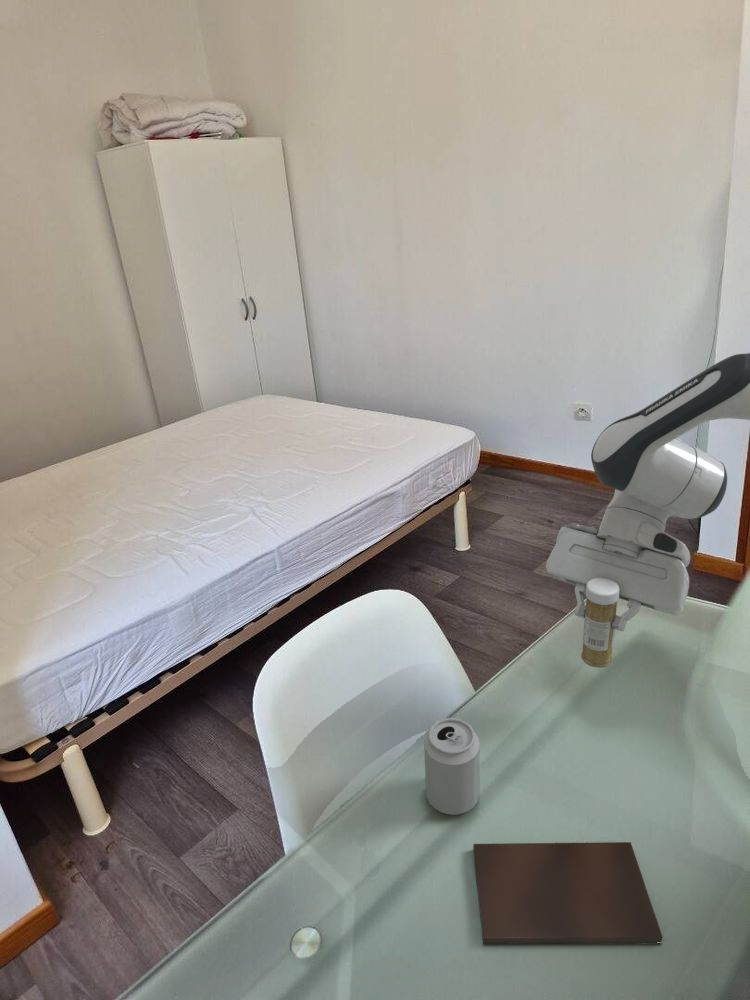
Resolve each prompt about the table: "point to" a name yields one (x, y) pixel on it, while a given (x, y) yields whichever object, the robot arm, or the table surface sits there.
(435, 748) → the can
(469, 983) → the table surface
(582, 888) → the walnut board
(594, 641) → the spice jar
